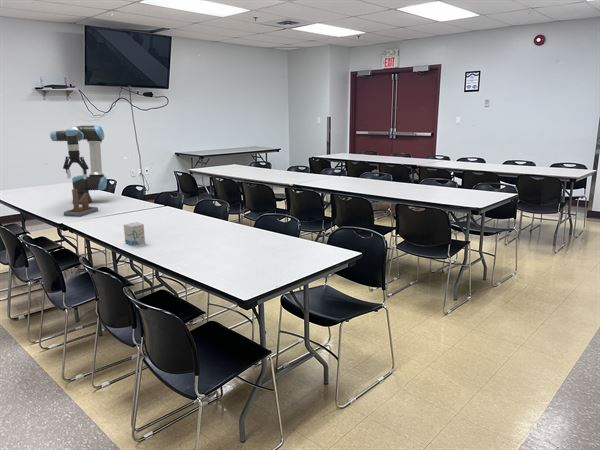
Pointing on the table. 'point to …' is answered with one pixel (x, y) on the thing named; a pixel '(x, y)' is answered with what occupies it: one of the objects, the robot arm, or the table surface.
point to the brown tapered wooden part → (82, 200)
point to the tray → (77, 214)
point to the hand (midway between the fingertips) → (77, 178)
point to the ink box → (134, 233)
